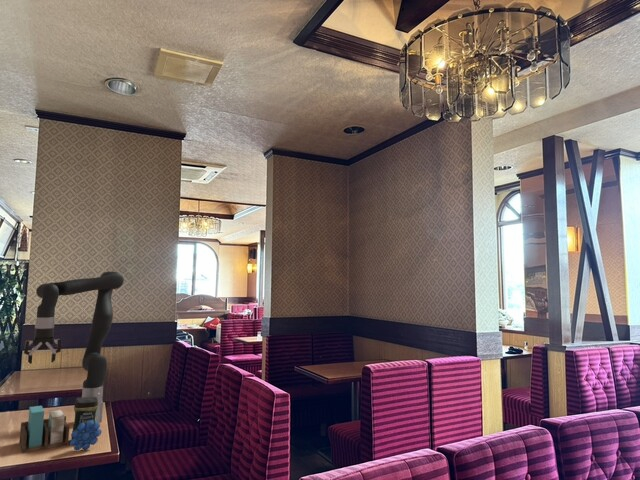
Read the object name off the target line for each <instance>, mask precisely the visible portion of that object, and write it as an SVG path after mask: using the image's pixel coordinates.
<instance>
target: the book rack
mask: <svg viewBox="0 0 640 480" xmlns="http://www.w3.org/2000/svg"><path fill="white" fill-rule="evenodd" d="M19 430H20V433H19V441H18V442H19V447H20V451H21V454H25V453H30V452H31V453H32V452H36V451H42V450H48V449H53V448H58V447H60V448H61V447H65V446H69V445H70V441H69V439H70V438H69V437H70V426H69V424H68V423H67V415H65V414H64V412H63V411H62V409H58V410H52V411H49V415H48V418H44V421H43V433H42V445H41V446H36V447H30V448H29V447H28V444H27V430H28V420H27V421H22V422H20V429H19Z"/></svg>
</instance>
